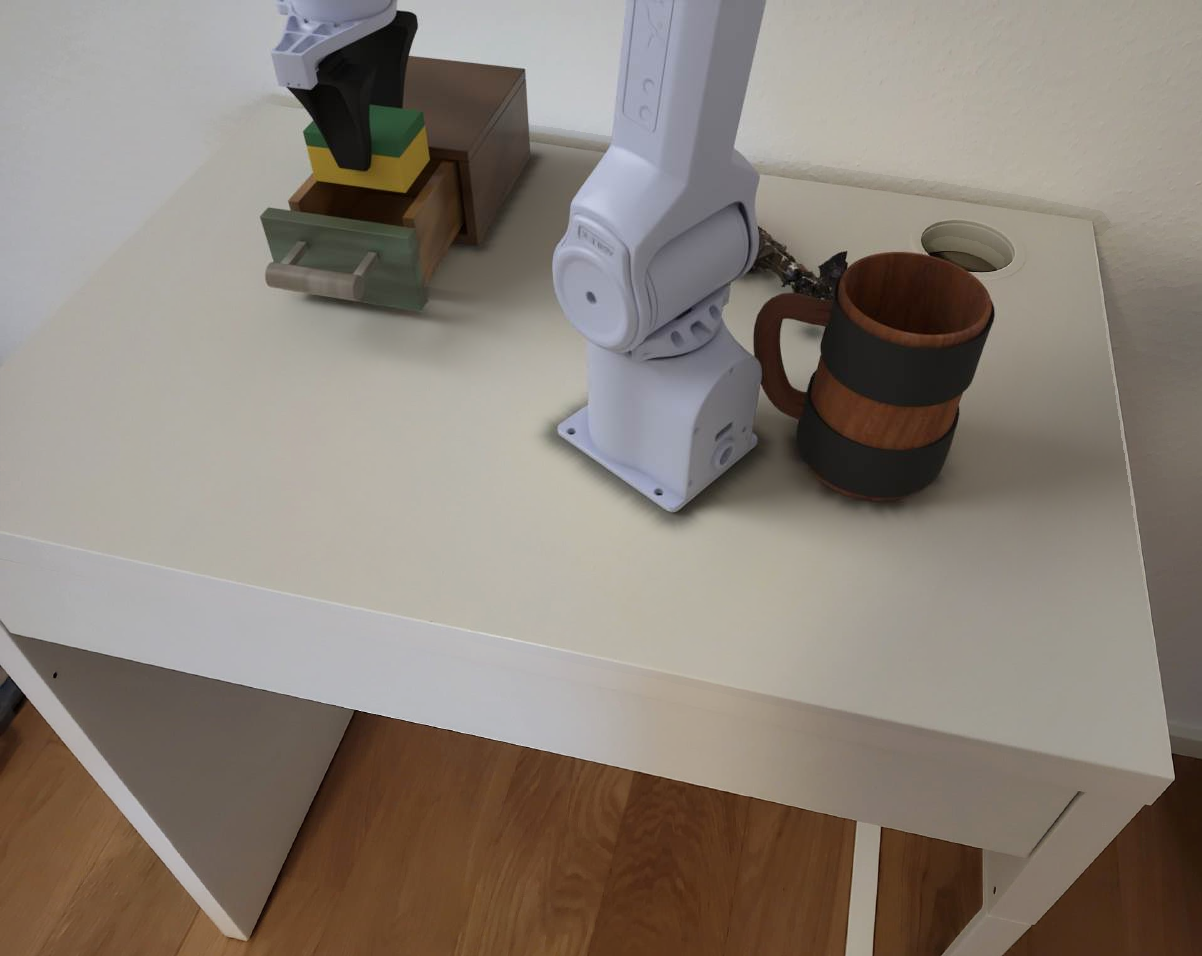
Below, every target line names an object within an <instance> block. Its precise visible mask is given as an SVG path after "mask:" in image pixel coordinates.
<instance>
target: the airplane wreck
mask: <svg viewBox="0 0 1202 956" xmlns="http://www.w3.org/2000/svg"><path fill="white" fill-rule="evenodd" d="M757 226H758V231H759V247H758V253H757V256H756V259H755V261H754V263H753V265H752V267H751V268H750V269H749V271H748V272H751V271H753V270H755V269H756V268H761V269H762V270H763V271H765V272H766V271H767V270H770V271H772V273H775V274H776V275H777V276H778V278H779V279H780V283H782V285H780V287H781V288H786V286H790V287H791V289H792V290H791V291H792V293H798V294H803V295H807V296H811V297H814V298H818V299H824V300H833V297H834V292H835V287H836V283H837V281H838V279H839V277H840V276H841V275H842V274H843V273H844V272H845V270H846V269H847V268H848V267H849V262H847V261H846V260H847V256H848V250H845V251H840V252H838V253H836V254H834V255H833V256H831V257H830V258H828V259H827V260H825V261H824V262H823V263H822V264H820V265H818V266H817V268H818V270H819V276H818V277H817V276H816V275H815V273H814V271H813V270H812V271H810V270H808V268H807V267H806V266H805V265H804V264H803V263H799V262H797V261H796V259H795V257H794V256H793V255H790V253H789V252H787V251H786V250H787V248H788V247H787V245H786V244H784V243H779V241H778V240H776V239H774V238H773V236H772V235H770V234H769V233H768V232H767V231H766V230H765V229H763V228H761V226H759V225H758V224H757ZM748 272H747V273H748ZM793 283H794V284H793Z"/></svg>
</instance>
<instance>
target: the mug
mask: <svg viewBox="0 0 1202 956" xmlns="http://www.w3.org/2000/svg"><path fill="white" fill-rule="evenodd" d="M995 316H996V312H995V306H994V302H993V300H992V298H991V295H990V293H989V291H988V288H986V287H985V285H984V284H983V283H982V282H981V281H980V280H979V279H978V278H977V277H976V276H975V275H974V274H972V273H971V272H970V271H968V270H967V269H965V268H963V267H962V266H959V265H957V264H955V263H954V262H951V261H949V260H946V259H943V258H940V257H937V256H933V255H929V254H924V253H918V252H913V251H911V252H909V251H887V252H878V253H874V254H871V255H870V254H869V255H867V256H865V257H862V258H860V259H857V260H856V261H854V262H852V264H850V265H848V267H847V269H846V270H845V272H844V273H843V274H842V275H841V276H840V277H839V279H838V281H837V283H836V287H835V292H834V297H833V300H824V298H821V299H818V298H814V297H811V296H807V295H803V294H798V293H793V292H785V293H783V292H782V293H779V294H777V295H775V296H772V297H771V298H770V299H768V300H767V301H766V302H764V304H763V305H762V306H761V308H760V310H759V311H758V313H757V315H756V318H755V321H754V327H753V336H752V338H753V339H752V340H753V348H752V349H753V356H754V357H755V358H756V359H757V360H758V361H759V362H760V364H761V369H762V378H761V385H760V387H761V388H762V390H763V392H764V394H765V395H766V397H767V399H768V400H769V401H770V403H771V404H772V405H773V406H774V407H775V408H776V409H777V410H778V411H779V412H781V413H783V414H785V415H786V416H787V417H791V418H793V419H795V420H798V422H797V427H796V431H795V441H796V446H797V449H798V452H799V455H800V456H801V458H802V460H803V462H804V463H805V464H806V466H807V468H808V469H809V470H810V471H811V473H812V474H813V475H814V476H815V478H816V479H818V480H819V481H820V482H821V483H823V484H824V485H825V486H826V487H829V488H830V489H831V490H833V491H835V492H837V493H840V494H842V495H844V496H847V497H850V498H854V499H857V500H860V501H861V500H862V501H867V502H868V501H869V502H889V501H896V500H899V499H903V498H906V497H908V496H910V495H913V494H915V493H918V492H920V491H922V490H923V489H926V488H927V487H928V486H929V485H931V484H932V483H933V482H934V481H935V480H936V479H937V478H938V476H939V475H940V473H941V471H942V470H943V467H944V465H945V463H946V460H947V457H948V455H949V452H950V450H951V448H952V443H953V440H954V436H955V433H956V429H957V426H958V423H959V418H960V403H961V400H962V398H963V394H964V393H965V391H967V390H968V389H969V387H970V386H971V384H972V382H973V380H974V378H975V376H976V371H977V369H978V366H979V363H980V360H981V357H982V354H983V351H984V348H985V346H986V342H987V339H988V338H989V335H990V331H991V329H992V326H993V324H994V321H995ZM787 319H788V320H793V321H794V320H795V321H798V322H801V323H804V324H805V323H806V324H809V325H814V326H820V327H824V331H823V335H822V336H821V341H820V345H819V349H820V355H819V360H818V363H817V367H816V370H815V371H814V372H813V373H812V375H811V376H810V378H809V382H808V385H807V389H806V391H802V390H799V389H796V388H795V387H794V386H793V385H792V384H791V383H790V381H789V378H788V376H787V373H786V370H785V365H784V362H783V356H782V350H781V349H782V348H781V333H782V332H781V331H782V324H783V321H784V320H787Z"/></svg>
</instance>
